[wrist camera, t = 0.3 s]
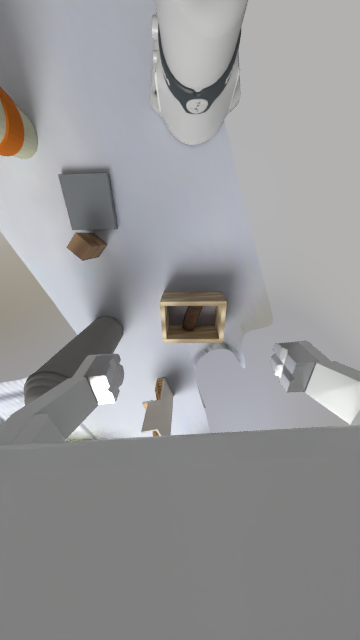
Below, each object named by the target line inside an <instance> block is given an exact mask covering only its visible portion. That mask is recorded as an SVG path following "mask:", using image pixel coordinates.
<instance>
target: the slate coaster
mask: <svg viewBox="0 0 360 640" xmlns="http://www.w3.org/2000/svg"><path fill="white" fill-rule="evenodd" d="M58 176H59V180H60V184H61V188H62V192H63V195H64V199H65V203H66V207H67V211H68V215H69V219H70V223H71V226H72V230H100V229H118V228H117V222H116V216H115V209H114V203H113V196H112V190H111V184H110V177H109V174H108V173H87V174H58Z"/></svg>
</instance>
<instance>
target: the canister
mask: <svg viewBox="0 0 360 640" xmlns="http://www.w3.org/2000/svg"><path fill="white" fill-rule="evenodd" d="M122 335H123V329H122V327H121V325H120V324H119V322H118V321H116V320H115V319H113V318H110V317H100V318H98V319H96V320H95V321H94V322H92V323H91V324H90V325H89V326H88V327H87V328H86V329H84V330H83V331H82V332H81V333H80V334H79V335H77V336H76V337H75V338H74V339H73V340H72V341H71V342H69V343H68V344H67V345H66V346H65V347H64V348H62V349H61V350H60V351H59V352H58V353H57V354H56V355H54V356H53V357H52V358H51V359H50V360H49V361H48V362H47V363H45V364H44V365H43V366H42V367H41V368H40V369H38V370H37V371H36V372H35V373H33V374H32V375H30V376H29V377H28V379H27V381H26V383H25V385H24V396H25V405H27V404H29V403H31V402H32V401H34V400H35V399H37V398H38V397H40V396H42V395H43V394H45V393H46V392H48V391H49V390H51V389H52V388H54V387H56V386H57V385H59V384H60V383H62V382H63V381H65V380H67V379H68V378H72V377H73V375H74V374H75V373H76V371H77V370H78V368H79V367H80V365H81V364H82V363H83V361H84V360H85V358H86V357H87V356H89V355H99V354H113V352H114V350H115V349H116V347H117V345H118V343H119V341H120V340H121V338H122Z"/></svg>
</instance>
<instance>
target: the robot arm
mask: <svg viewBox="0 0 360 640" xmlns="http://www.w3.org/2000/svg"><path fill="white" fill-rule="evenodd" d="M154 2H155V6H156V15H153V16H152V36H153V39H154V50H153V67H152V81H151V95H150V101H151V106H152V108H153V109H154V110H155V111H156V112H157V113H158V114H159V115H160V116H161V117H162V118H163V119H164V121H165V123H166V125H167V127H168V128H169V130H170V132H171V133H172V134H173V135H174V136H175V137H176V138H177V139H178V140H179V141H181V142H183V143H185V144H189V145H197V144H201V143H204V142H206V141H207V140H209V139H210V138H211V137H213V136H214V134H215V133H216V132H217V131H218V129H219V128H220V126H221V125H222V123H223V121H224V119H225V117H226V116H227V114H228V113H229V112H231V111H232V110H233V109H234V108H235V107H236V105H237V104H238V102H239V99H240V76H239V73H240V69H239V54H238V49H239V43H240V37H241V25H242V22H243V18H244V14H245V10H246V6H247V2H248V0H154ZM156 91H157V95H156V94H155V92H156ZM273 351H274V352H275V353H274V355H272V356H271V360H270V364H271V368H272V371H273V372H274V374H275V375H276V376H278V377H280V381H279V382H280V383H281V384H282V386H283V387H284V389H285V390H286V392H305V393H306V394H308V395H309V396H310V397H312V398H313V399H315V400H316V401H318V402H319V403H320V404H322V405H323V406H325V407H326V408H327V409H329V410H331V411H332V412H333V413H335V414H336V415H338V416H339V417H340V418H342V419H343V420H345V421H346V422H347V423H349V424H350V425H347V426H329V427H311V428H294V429H277V430H260V431H243V432H226V433H207V434H189V435H171V436H154V437H136V438H119V439H101V440H84V441H66V440H65V439H66V438H67V437H68V436H69V435H70V434H71V433H72V432H73V431H74V430H75V429H76V428H77V427H78V426H79V425H80V424H81V423H82V422H83V421H84V420H85V419H86V417H87V416H88V415H89V414H90V413H91V412H92V411H93V410H94V409H95V408H96V407H97V406H98V404H107V403H116V400H117V397H118V394H119V388H118V387H119V386H121V385H122V383H123V379H124V369H123V366H122V365H120V364H119V363H120V360H121V359H120V356H119V355H118V354H99V355H89V356H87V357H86V358H85V360H84V361H83V363H82V364H81V365H80V367H79V368H78V370H77V371H76V373H75V374H74V375H73V377H72V378H68V379H67V380H65V381H63V382H62V383H60V384H59V385H57V386H56V387H54V388H52V389H51V390H49V391H48V392H46V393H45V394H43V395H42V396H40V397H38V398H37V399H35V400H34V401H32V402H31V403H29V404H27V405H26V406H24V407H23V408H21V409H20V410H18V411H16V412H15V413H13V414H12V415H11V416H10V417H9V418H8V419H7V420H6V421H5V423H4V424H3V425H2V426H1V427H0V640H360V371H357V370H355V369H353V368H350V367H348V366H345V365H343V364H340V363H338V362H335V361H333V362H332V361H330V360H329V359H328V358H327V357H326V356H325V355H323V354H322V353H321V352H320V351H319V350H318V349H316V348H315V347H314V346H313V345H312V344H311V343H309V342H307V341H297V342H288V343H276V344H275V345H274V346H273Z"/></svg>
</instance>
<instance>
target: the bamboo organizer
mask: <svg viewBox="0 0 360 640" xmlns="http://www.w3.org/2000/svg"><path fill="white" fill-rule="evenodd" d="M168 306H216V315H215V326H196V327H195V329H194V330H190V331H187V330H185V329H183V328H182V326H169V314H168ZM226 307H227V300H226V299H225V297H224V296H223V294H222V292H164V293H163V295H162V298H161V301H160V309H161V323H162V337H163V343H223V335H224V326H225V317H226Z"/></svg>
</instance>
